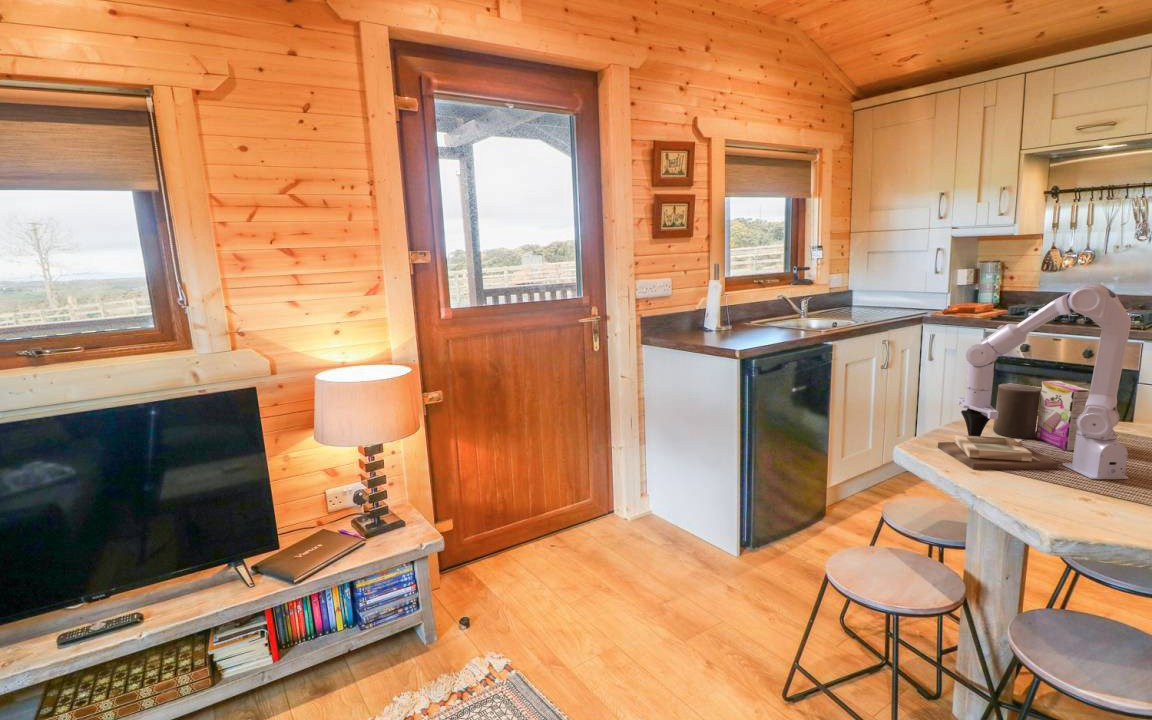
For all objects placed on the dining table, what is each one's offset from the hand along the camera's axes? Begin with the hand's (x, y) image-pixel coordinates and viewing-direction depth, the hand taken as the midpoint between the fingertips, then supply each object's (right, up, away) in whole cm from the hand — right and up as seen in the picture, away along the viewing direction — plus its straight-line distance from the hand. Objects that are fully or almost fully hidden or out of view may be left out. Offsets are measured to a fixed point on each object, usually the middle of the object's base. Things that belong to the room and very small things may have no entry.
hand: (974, 437), depth 156 cm
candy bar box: (+23, -2, +1) cm, 24 cm away
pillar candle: (+19, -1, +11) cm, 22 cm away
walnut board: (0, -4, -7) cm, 8 cm away
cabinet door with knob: (-1, -2, -8) cm, 8 cm away
